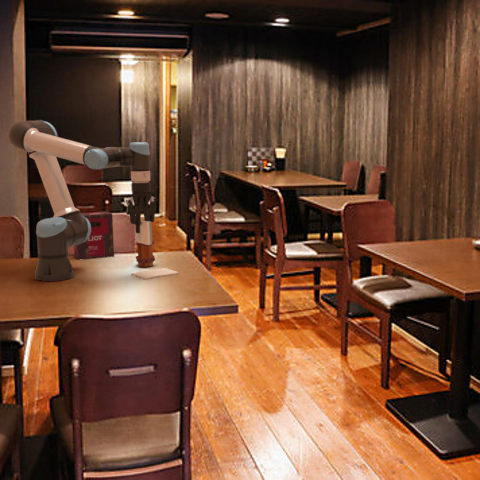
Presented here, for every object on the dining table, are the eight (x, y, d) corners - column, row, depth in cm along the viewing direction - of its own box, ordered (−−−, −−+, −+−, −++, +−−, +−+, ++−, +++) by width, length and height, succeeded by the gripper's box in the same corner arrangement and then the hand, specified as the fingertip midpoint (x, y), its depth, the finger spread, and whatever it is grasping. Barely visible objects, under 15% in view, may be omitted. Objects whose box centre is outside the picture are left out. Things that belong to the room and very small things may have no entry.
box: (78, 259, 300) (75, 216, 296) (74, 256, 308) (72, 213, 304) (114, 256, 307) (112, 213, 303) (109, 253, 314) (107, 211, 311)
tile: (135, 241, 268) (134, 219, 266) (139, 241, 269) (138, 219, 268) (148, 244, 260) (147, 222, 259) (152, 244, 261) (151, 221, 260)
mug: (156, 267, 283) (155, 233, 280) (137, 268, 281) (136, 233, 278) (152, 260, 297) (151, 227, 294) (134, 261, 295) (132, 228, 292)
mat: (131, 274, 270) (131, 273, 270) (164, 269, 280) (164, 267, 280) (145, 279, 262) (144, 278, 261) (179, 273, 271) (179, 272, 271)
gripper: (128, 183, 253) (131, 244, 257) (162, 181, 262) (164, 239, 266) (119, 182, 259) (121, 241, 263) (152, 180, 268) (154, 237, 272)
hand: (143, 240), depth 265 cm, fingers closed on tile, 2 cm apart
